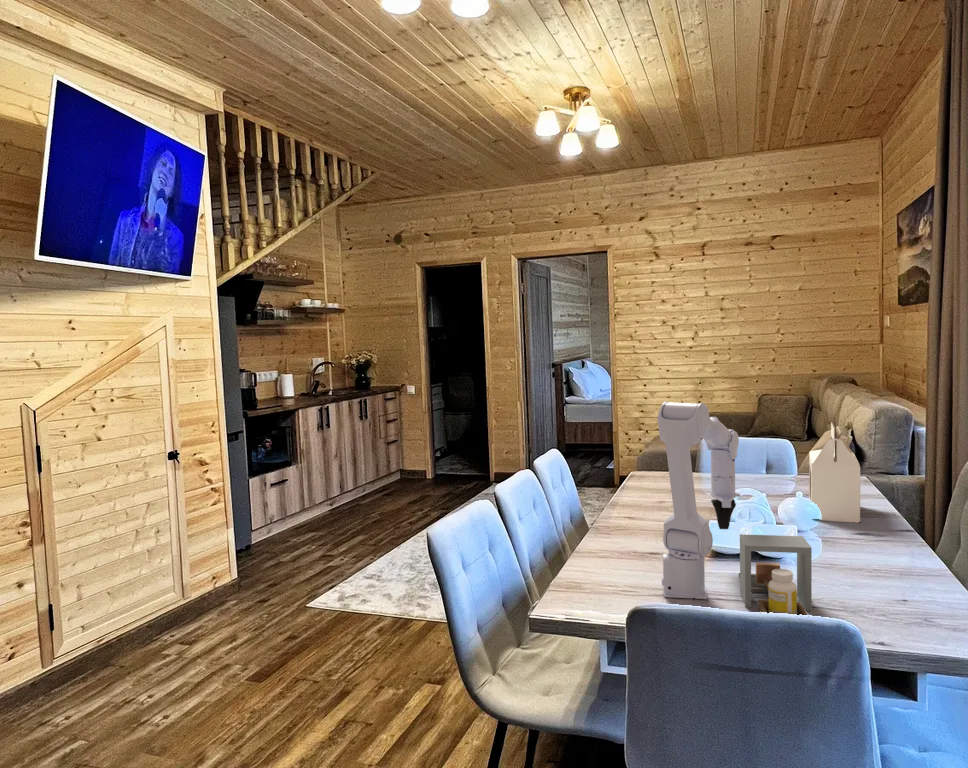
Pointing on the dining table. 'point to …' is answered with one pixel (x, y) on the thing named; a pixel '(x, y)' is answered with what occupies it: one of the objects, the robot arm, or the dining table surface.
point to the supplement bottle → (782, 592)
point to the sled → (764, 578)
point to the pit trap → (756, 585)
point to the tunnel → (777, 545)
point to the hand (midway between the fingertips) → (723, 528)
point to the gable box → (835, 478)
